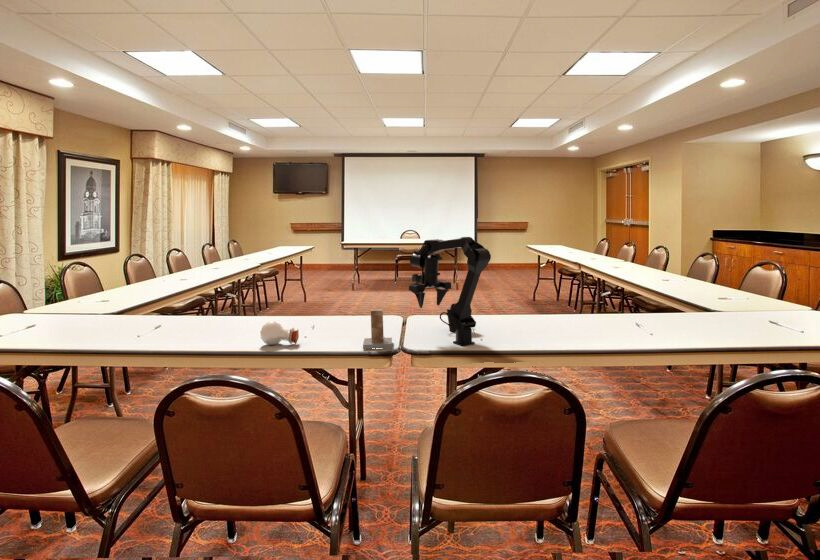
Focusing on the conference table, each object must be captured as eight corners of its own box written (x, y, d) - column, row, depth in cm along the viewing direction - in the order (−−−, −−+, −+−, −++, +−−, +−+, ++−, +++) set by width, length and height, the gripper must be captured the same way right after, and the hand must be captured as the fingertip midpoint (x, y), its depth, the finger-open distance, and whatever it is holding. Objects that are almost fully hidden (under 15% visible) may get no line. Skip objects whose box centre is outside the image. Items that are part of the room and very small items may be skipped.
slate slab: (391, 342, 214) (391, 337, 214) (391, 349, 203) (391, 343, 203) (364, 343, 214) (364, 338, 213) (363, 349, 203) (362, 344, 202)
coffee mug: (466, 328, 237) (466, 306, 236) (466, 332, 228) (466, 309, 227) (440, 328, 238) (440, 306, 237) (439, 332, 229) (439, 310, 228)
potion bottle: (261, 347, 217) (296, 351, 216) (254, 337, 209) (290, 342, 207) (267, 326, 222) (301, 330, 220) (260, 316, 213) (296, 321, 212)
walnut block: (383, 339, 210) (382, 308, 209) (383, 342, 206) (382, 310, 204) (372, 339, 210) (371, 308, 209) (371, 342, 206) (370, 310, 204)
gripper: (436, 265, 231) (434, 300, 233) (401, 268, 219) (400, 305, 222) (453, 269, 222) (451, 305, 225) (417, 272, 211) (416, 310, 214)
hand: (429, 306), depth 222 cm, fingers open, 9 cm apart
